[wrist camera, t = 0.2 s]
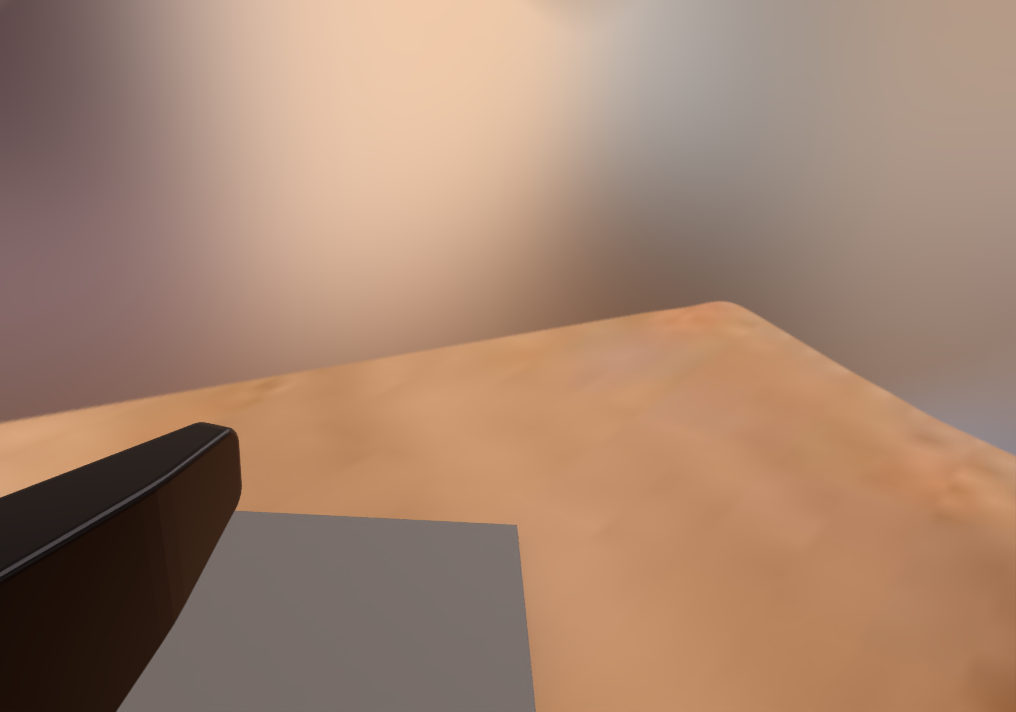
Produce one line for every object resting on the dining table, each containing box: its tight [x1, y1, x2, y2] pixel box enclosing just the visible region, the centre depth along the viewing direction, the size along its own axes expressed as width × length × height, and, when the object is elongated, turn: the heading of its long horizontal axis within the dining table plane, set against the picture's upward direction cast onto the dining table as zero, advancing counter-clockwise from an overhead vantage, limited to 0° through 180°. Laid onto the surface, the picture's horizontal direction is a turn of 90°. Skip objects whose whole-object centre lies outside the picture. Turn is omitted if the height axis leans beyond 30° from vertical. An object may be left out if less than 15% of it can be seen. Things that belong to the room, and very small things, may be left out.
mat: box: [117, 511, 536, 712], centre depth 23 cm, size 16×16×1 cm
